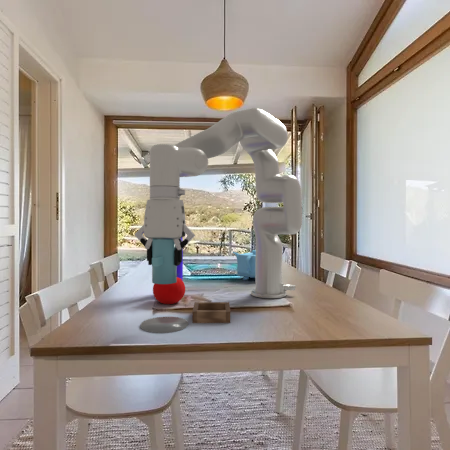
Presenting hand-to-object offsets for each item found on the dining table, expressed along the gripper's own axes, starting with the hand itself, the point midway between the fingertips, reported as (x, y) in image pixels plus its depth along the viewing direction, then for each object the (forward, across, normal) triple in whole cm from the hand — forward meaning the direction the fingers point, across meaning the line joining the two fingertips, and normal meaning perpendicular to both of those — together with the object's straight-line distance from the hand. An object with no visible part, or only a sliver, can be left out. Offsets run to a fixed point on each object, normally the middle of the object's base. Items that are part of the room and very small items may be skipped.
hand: (164, 264), depth 94 cm
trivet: (+16, 0, 0) cm, 16 cm away
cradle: (+16, -11, -9) cm, 22 cm away
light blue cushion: (+16, -16, -74) cm, 77 cm away
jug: (+5, 0, +2) cm, 5 cm away
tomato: (+17, +6, -23) cm, 29 cm away
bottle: (+16, +9, -36) cm, 41 cm away
